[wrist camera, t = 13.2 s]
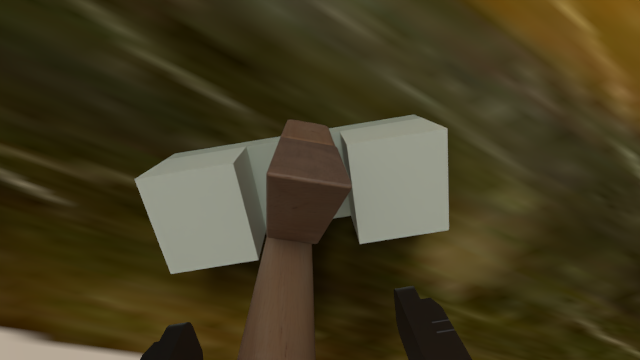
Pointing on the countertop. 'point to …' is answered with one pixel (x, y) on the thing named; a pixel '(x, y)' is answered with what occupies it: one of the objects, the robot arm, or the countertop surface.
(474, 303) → the countertop surface
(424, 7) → the countertop surface
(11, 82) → the countertop surface
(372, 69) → the countertop surface
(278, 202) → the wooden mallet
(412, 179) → the slotted beam
